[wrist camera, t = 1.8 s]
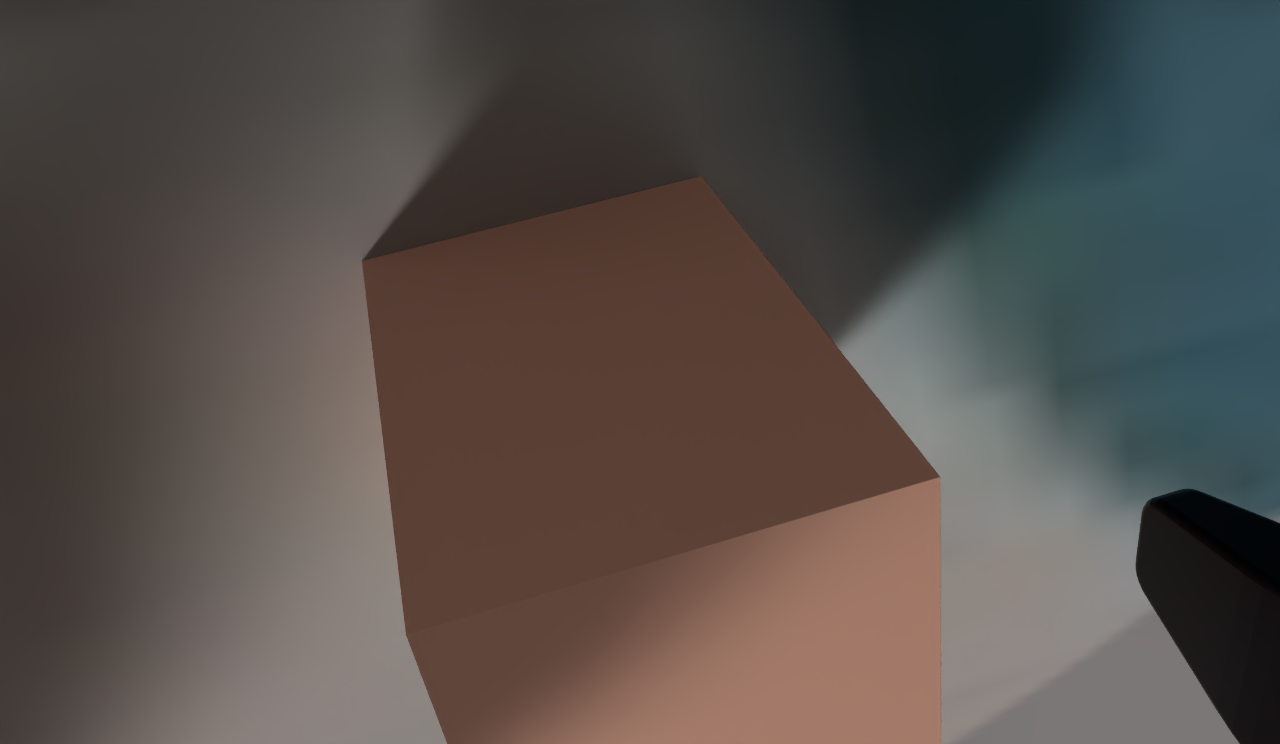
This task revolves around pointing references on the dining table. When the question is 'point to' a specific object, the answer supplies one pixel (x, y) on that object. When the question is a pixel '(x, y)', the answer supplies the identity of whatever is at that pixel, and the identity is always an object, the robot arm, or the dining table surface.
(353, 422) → the dining table surface
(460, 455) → the copper brown block
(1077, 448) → the dining table surface
